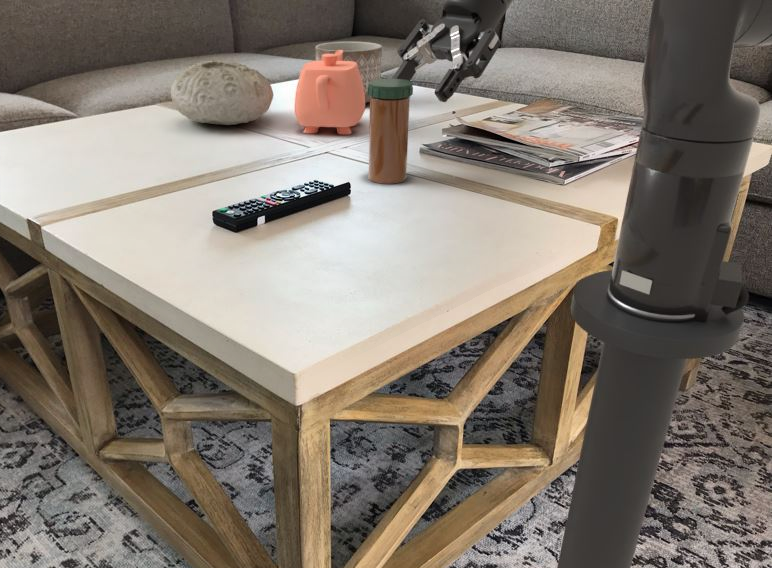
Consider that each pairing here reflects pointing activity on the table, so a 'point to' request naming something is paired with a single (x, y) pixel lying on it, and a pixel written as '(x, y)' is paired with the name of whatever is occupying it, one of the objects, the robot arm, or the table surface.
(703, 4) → the robot arm
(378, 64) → the planter
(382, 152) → the jar
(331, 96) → the teapot
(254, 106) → the grey rounded lump
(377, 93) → the lid
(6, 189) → the table surface
